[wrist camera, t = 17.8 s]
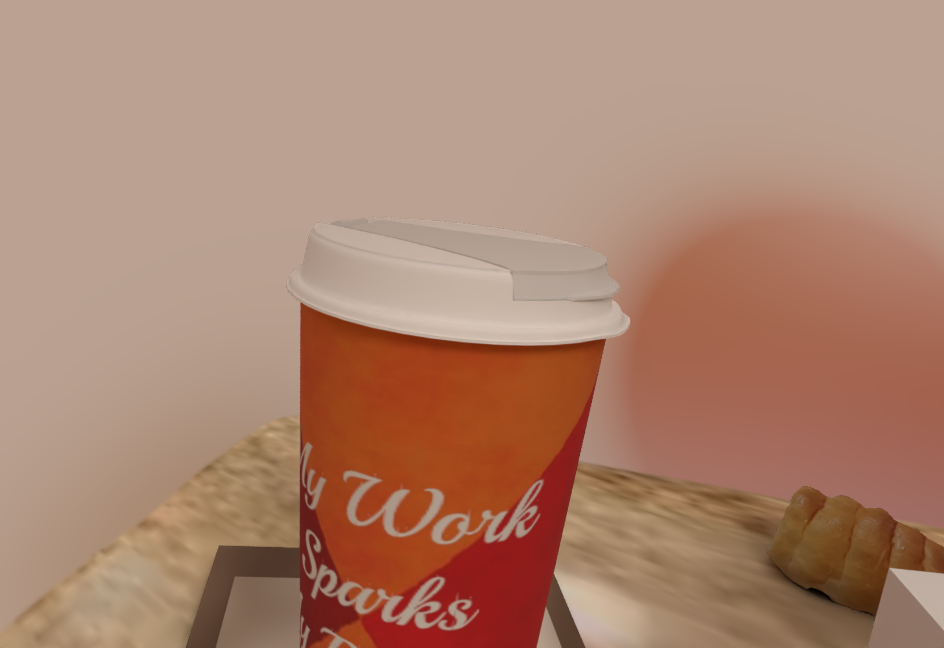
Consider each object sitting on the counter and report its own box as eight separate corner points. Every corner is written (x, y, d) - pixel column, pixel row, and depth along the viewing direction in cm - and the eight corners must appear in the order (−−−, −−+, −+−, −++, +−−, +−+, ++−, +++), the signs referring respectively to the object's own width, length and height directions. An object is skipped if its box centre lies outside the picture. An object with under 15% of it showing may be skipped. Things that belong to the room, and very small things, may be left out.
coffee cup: (193, 792, 20) (210, 223, 16) (360, 624, 28) (398, 207, 24) (485, 951, 17) (586, 297, 13) (584, 715, 24) (668, 252, 21)
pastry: (986, 601, 37) (1010, 532, 36) (981, 673, 32) (1008, 593, 31) (787, 528, 42) (803, 465, 41) (753, 579, 37) (770, 507, 36)
